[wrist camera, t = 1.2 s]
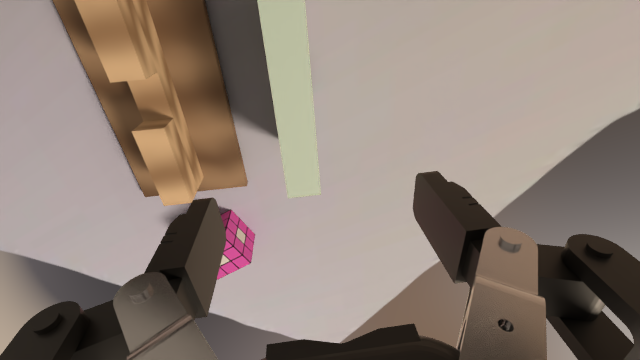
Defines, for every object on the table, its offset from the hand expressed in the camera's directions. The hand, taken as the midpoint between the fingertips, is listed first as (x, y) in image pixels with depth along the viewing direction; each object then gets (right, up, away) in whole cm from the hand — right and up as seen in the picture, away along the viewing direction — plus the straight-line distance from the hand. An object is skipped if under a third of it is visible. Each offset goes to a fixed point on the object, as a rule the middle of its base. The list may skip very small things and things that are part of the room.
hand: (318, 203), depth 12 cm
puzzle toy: (-14, -6, +32) cm, 35 cm away
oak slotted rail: (-17, +11, +20) cm, 29 cm away
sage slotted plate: (-3, +13, +21) cm, 25 cm away
